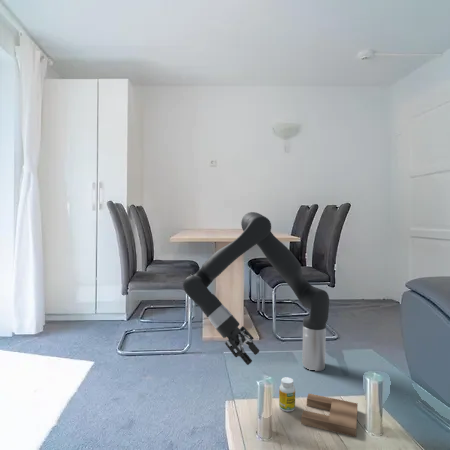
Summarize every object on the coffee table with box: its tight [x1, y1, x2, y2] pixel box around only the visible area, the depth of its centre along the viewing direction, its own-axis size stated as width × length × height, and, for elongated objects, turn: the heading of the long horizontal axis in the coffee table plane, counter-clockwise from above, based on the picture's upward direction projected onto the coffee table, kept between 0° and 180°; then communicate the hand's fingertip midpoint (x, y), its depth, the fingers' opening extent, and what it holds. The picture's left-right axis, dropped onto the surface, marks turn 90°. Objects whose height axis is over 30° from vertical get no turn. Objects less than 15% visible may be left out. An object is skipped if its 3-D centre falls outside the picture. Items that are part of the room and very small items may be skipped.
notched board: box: [300, 393, 359, 438], centre depth 115 cm, size 14×16×2 cm
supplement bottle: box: [278, 376, 296, 413], centre depth 120 cm, size 5×5×10 cm
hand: (253, 358), depth 123 cm, fingers open, 8 cm apart
